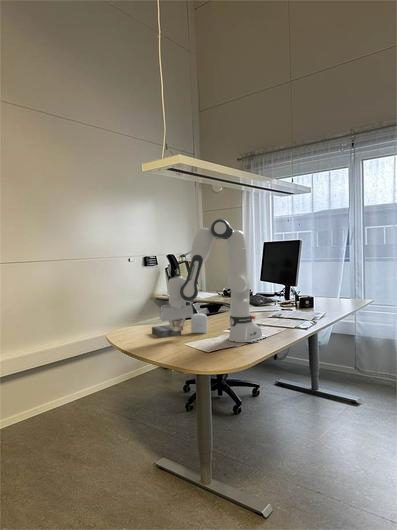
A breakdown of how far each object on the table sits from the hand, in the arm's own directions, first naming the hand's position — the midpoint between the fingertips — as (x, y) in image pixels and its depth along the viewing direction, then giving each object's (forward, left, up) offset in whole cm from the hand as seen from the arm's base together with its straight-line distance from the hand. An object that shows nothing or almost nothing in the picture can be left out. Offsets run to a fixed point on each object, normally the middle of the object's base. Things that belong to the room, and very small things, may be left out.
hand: (177, 326), depth 210 cm
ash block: (0, 0, -2) cm, 2 cm away
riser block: (0, -16, -8) cm, 18 cm away
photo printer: (-19, -7, -8) cm, 22 cm away
